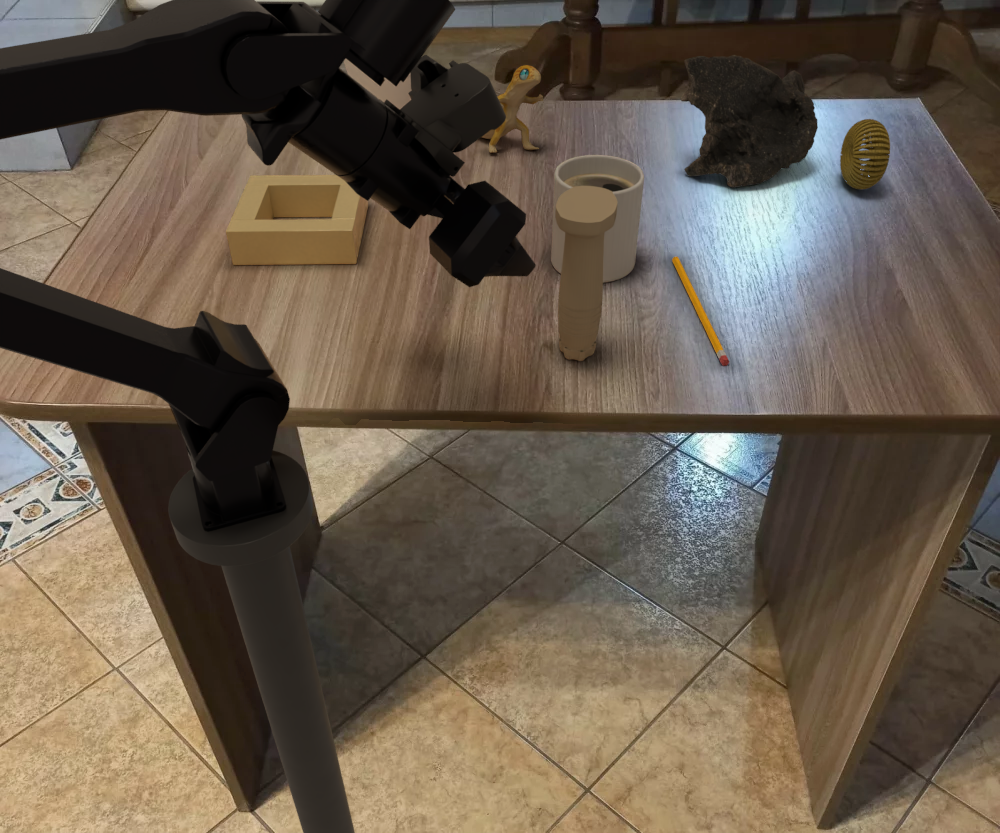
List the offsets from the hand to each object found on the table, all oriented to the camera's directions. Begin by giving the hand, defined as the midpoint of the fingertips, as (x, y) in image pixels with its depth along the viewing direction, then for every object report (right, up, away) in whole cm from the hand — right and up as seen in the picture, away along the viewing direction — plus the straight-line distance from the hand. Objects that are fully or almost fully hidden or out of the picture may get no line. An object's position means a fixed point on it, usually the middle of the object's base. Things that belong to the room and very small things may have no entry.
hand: (501, 243), depth 71 cm
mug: (+10, +3, +25) cm, 27 cm away
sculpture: (+43, +14, +38) cm, 59 cm away
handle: (+7, -8, +12) cm, 16 cm away
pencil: (+19, -3, +17) cm, 26 cm away
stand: (-22, +7, +29) cm, 37 cm away
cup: (-15, +24, +49) cm, 57 cm away
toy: (-1, +22, +47) cm, 52 cm away
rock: (+30, +18, +42) cm, 54 cm away
